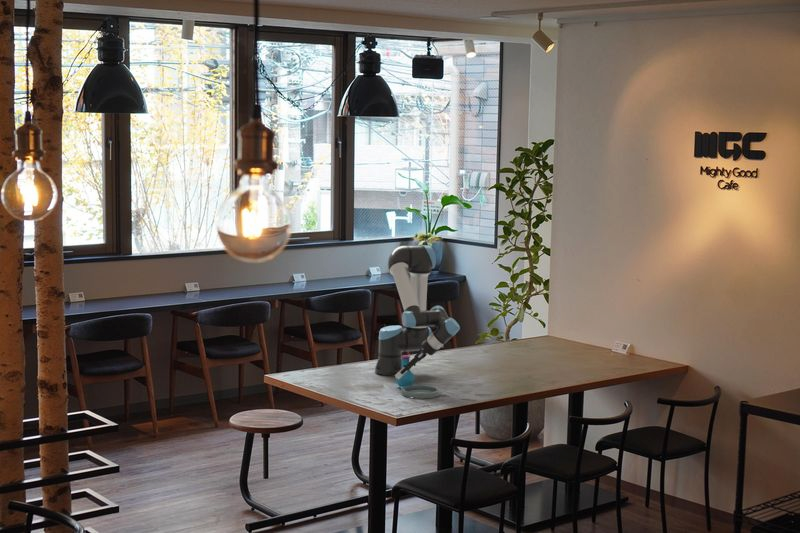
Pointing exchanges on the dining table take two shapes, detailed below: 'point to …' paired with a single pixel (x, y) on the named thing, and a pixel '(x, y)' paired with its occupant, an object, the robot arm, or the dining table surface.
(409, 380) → the perfume bottle
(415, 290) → the robot arm
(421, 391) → the round dish
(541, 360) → the dining table surface
